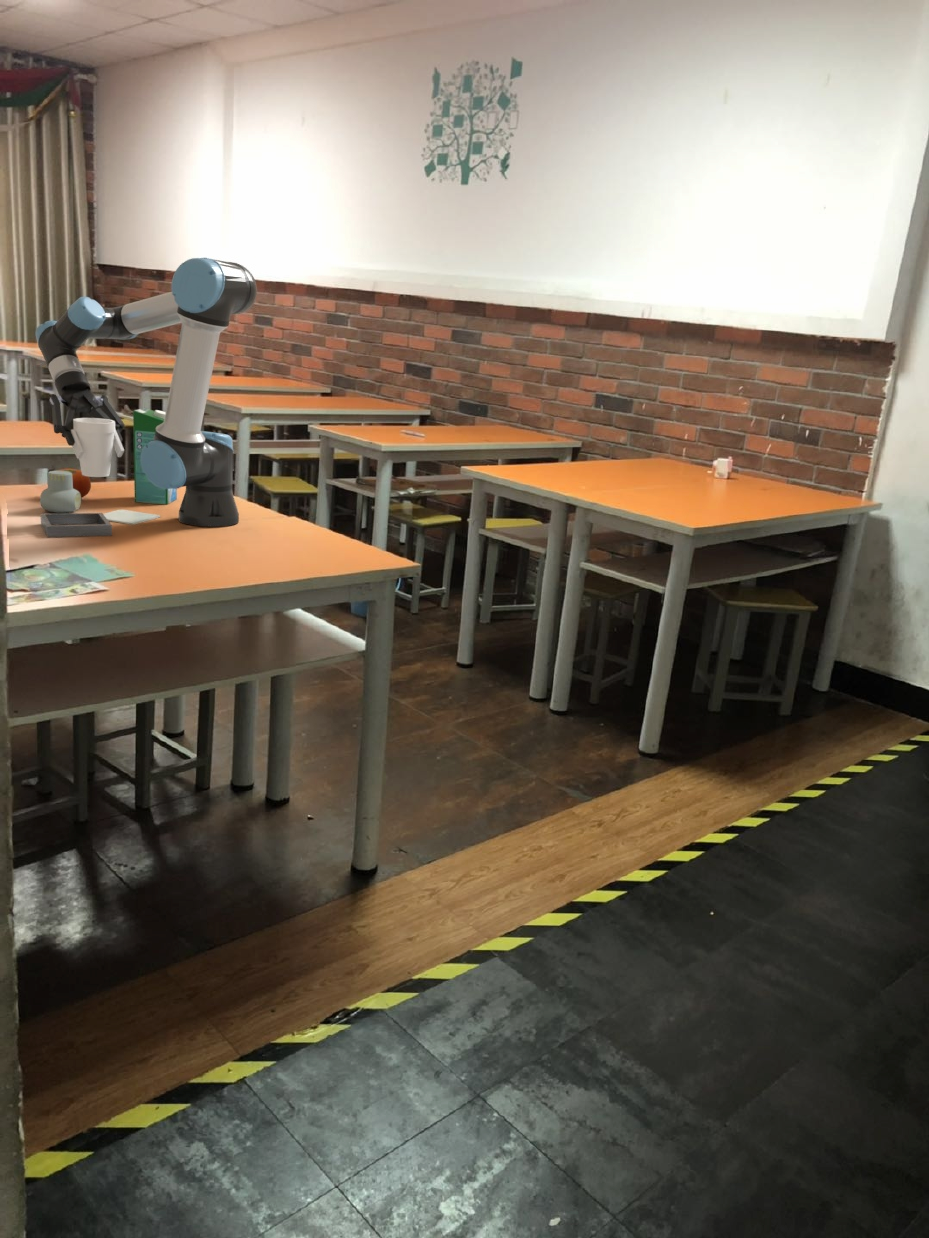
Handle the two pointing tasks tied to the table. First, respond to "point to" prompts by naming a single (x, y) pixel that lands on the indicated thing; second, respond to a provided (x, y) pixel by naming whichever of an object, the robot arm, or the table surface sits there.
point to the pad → (129, 516)
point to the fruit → (80, 481)
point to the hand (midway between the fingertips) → (101, 454)
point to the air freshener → (60, 493)
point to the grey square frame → (75, 530)
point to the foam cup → (95, 445)
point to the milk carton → (143, 434)
